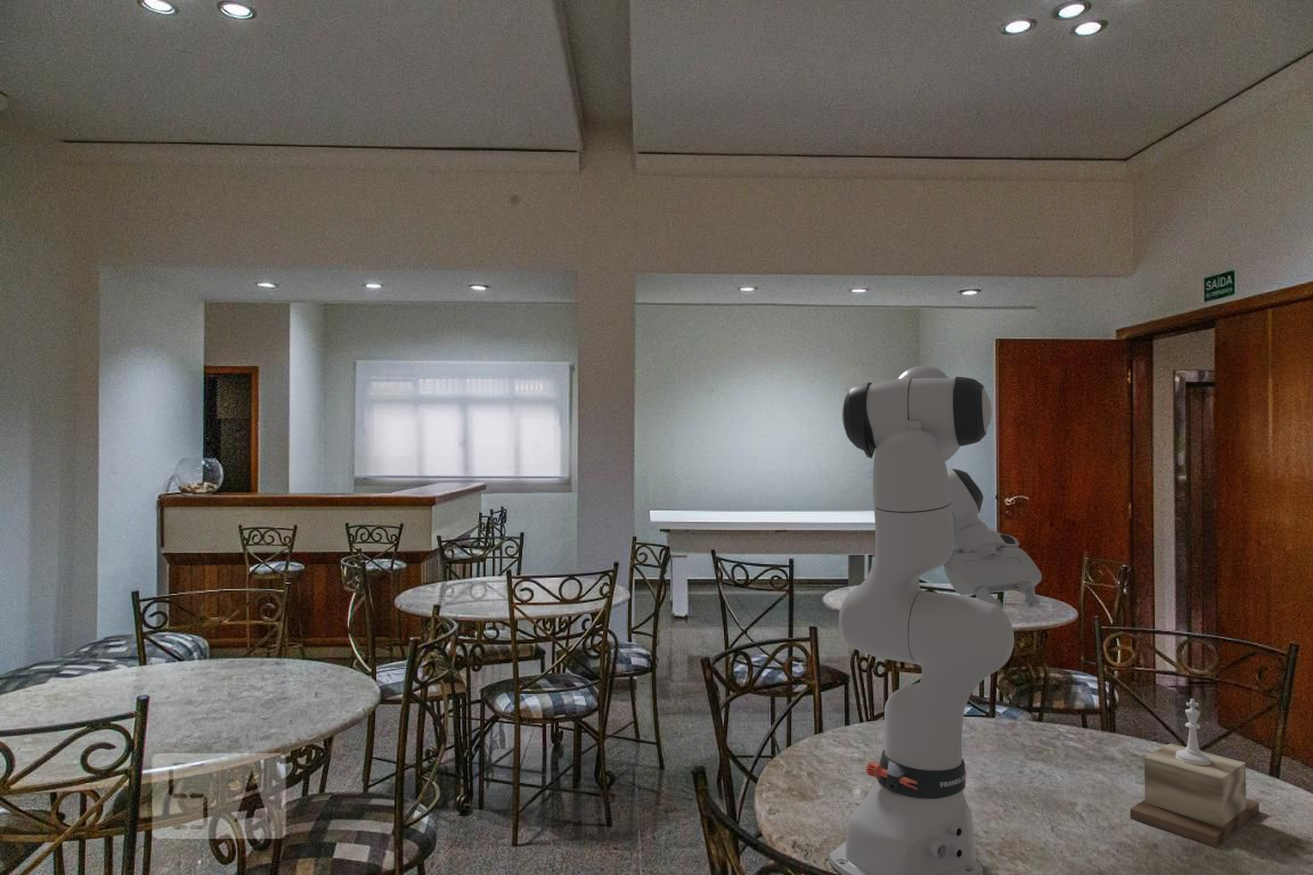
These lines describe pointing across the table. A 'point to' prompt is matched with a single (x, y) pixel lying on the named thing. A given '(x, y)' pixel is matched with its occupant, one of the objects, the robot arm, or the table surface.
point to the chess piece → (1193, 740)
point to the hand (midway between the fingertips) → (1017, 607)
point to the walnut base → (1194, 796)
